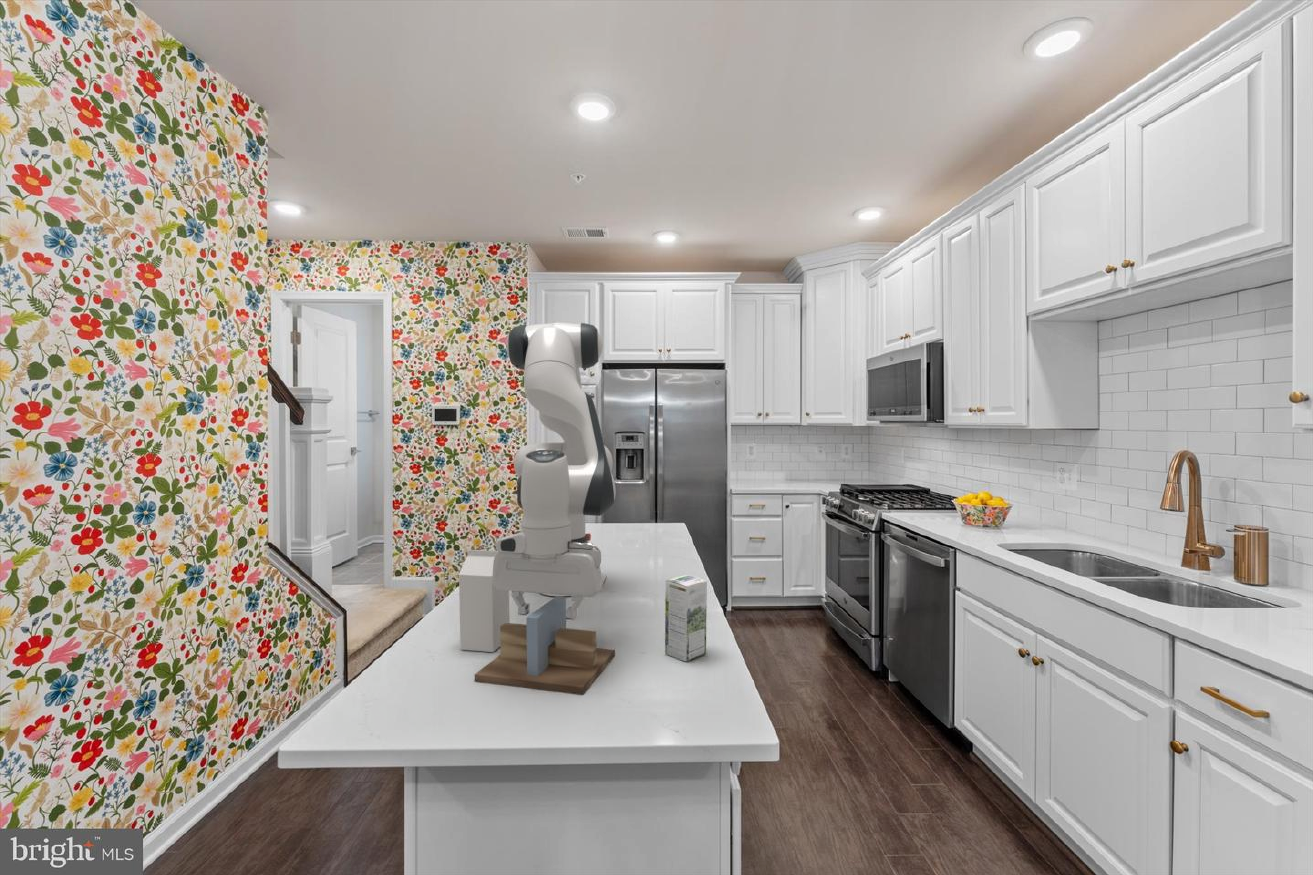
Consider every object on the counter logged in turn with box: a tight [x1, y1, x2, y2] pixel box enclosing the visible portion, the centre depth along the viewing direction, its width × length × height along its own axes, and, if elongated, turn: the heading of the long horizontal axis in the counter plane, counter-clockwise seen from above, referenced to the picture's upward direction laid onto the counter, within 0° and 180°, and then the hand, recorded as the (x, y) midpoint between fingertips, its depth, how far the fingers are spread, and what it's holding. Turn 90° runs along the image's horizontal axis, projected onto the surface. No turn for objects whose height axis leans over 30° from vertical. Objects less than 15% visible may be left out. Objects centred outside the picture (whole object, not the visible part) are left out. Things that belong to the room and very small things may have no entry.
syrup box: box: [664, 574, 708, 663], centre depth 111 cm, size 6×6×14 cm
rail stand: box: [474, 622, 616, 695], centre depth 105 cm, size 16×20×7 cm
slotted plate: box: [525, 596, 567, 676], centre depth 105 cm, size 12×2×10 cm, turn 165°
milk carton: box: [458, 549, 511, 653], centre depth 116 cm, size 7×7×19 cm
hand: (547, 616), depth 105 cm, fingers open, 8 cm apart
